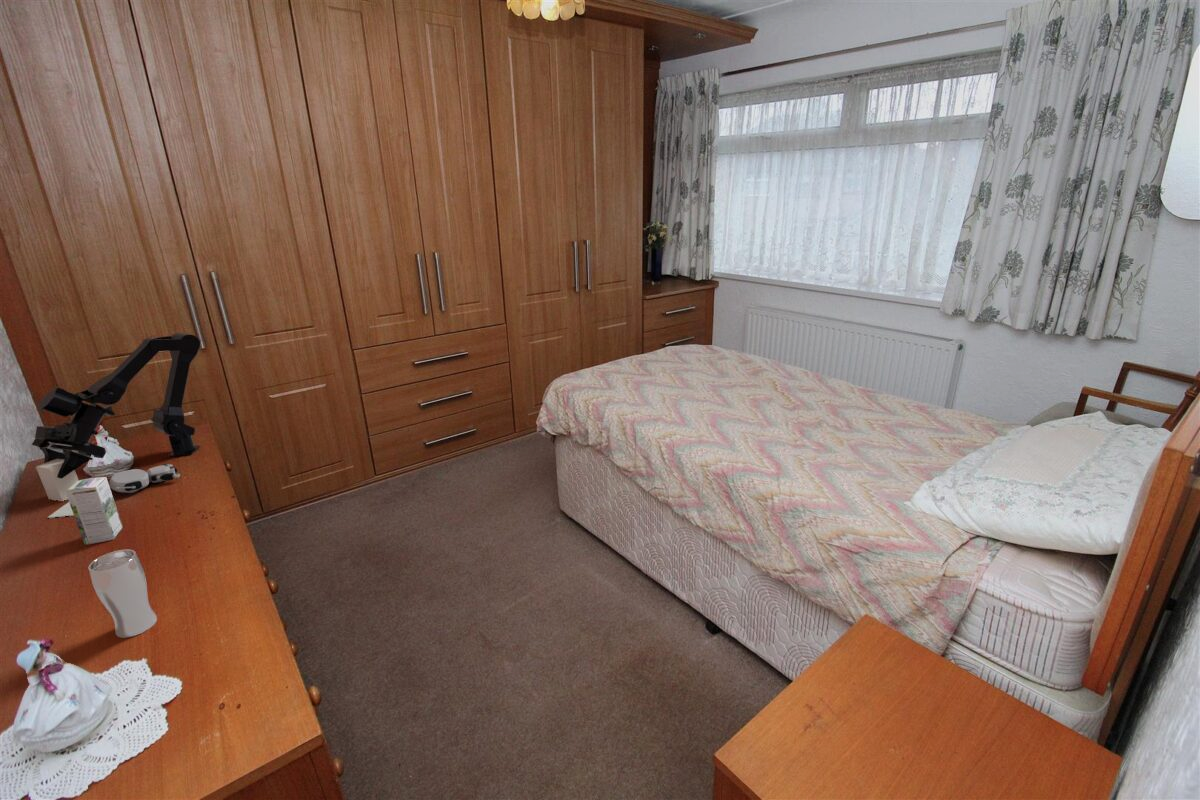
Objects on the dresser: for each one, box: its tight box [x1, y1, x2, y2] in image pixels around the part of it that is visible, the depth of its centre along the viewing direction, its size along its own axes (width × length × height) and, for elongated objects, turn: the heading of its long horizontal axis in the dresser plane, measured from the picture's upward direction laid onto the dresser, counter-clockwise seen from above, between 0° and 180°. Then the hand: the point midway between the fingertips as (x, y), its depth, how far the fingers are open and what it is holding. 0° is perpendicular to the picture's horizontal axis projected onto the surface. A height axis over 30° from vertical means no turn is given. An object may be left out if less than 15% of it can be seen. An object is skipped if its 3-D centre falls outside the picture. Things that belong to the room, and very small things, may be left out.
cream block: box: [35, 459, 79, 502], centre depth 147 cm, size 5×5×10 cm
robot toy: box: [108, 463, 181, 494], centre depth 154 cm, size 12×4×15 cm
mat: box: [47, 501, 74, 519], centre depth 142 cm, size 8×8×1 cm
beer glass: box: [87, 548, 158, 639], centre depth 99 cm, size 7×7×15 cm
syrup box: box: [66, 476, 124, 546], centre depth 128 cm, size 6×6×14 cm
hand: (51, 476), depth 145 cm, fingers closed on cream block, 5 cm apart
